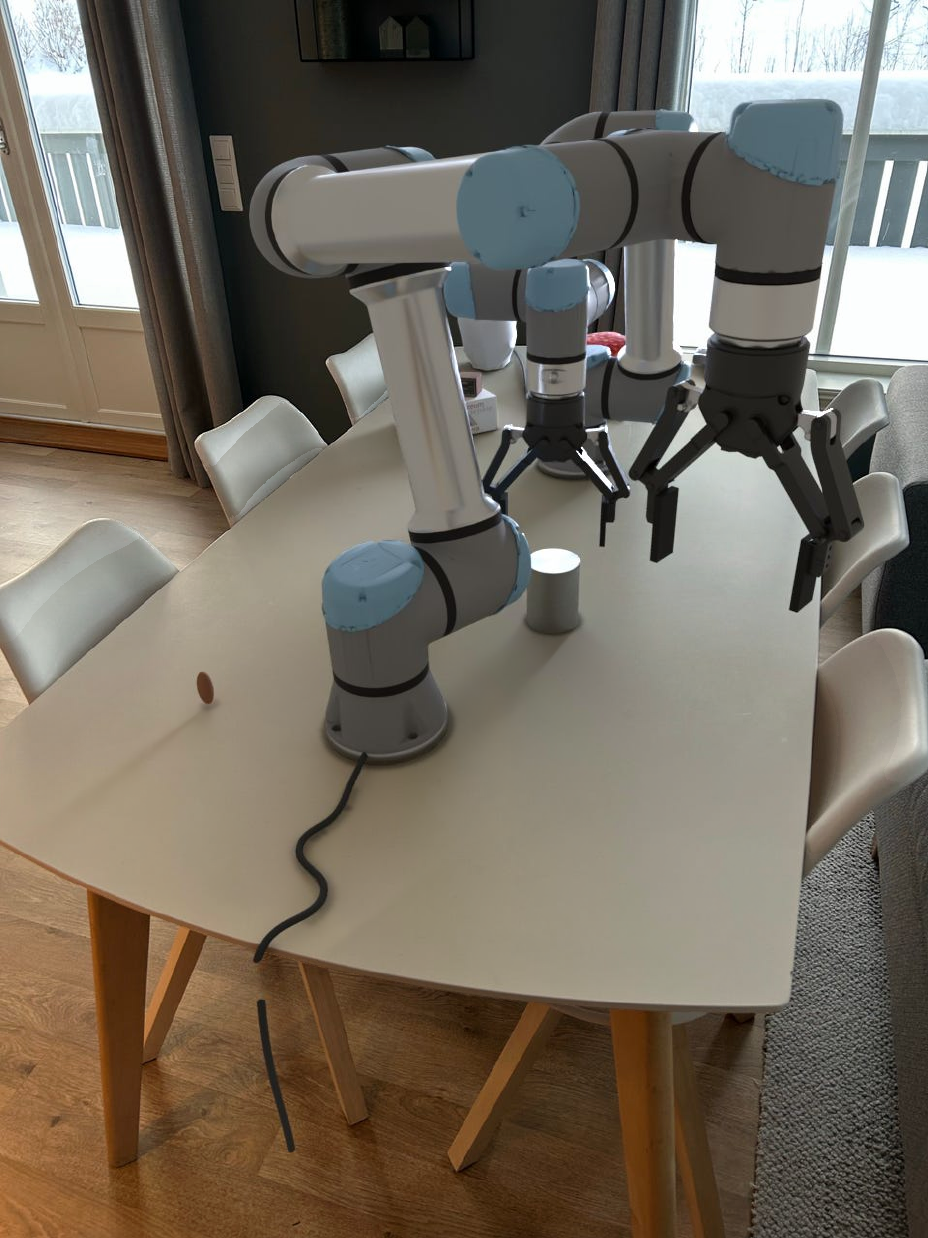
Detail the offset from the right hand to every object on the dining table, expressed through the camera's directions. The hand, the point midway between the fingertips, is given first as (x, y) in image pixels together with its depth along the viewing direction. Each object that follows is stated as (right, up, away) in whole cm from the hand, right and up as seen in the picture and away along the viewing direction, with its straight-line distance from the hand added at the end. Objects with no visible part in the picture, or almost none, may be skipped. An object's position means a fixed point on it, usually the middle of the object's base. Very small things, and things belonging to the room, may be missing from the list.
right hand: (553, 540), depth 126 cm
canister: (+1, -11, +7) cm, 13 cm away
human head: (-6, +58, +119) cm, 133 cm away
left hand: (+11, -7, -47) cm, 48 cm away
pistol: (+53, +51, +104) cm, 127 cm away
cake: (+24, +54, +110) cm, 125 cm away
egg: (-46, -22, -7) cm, 52 cm away
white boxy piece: (-16, +33, +80) cm, 88 cm away
